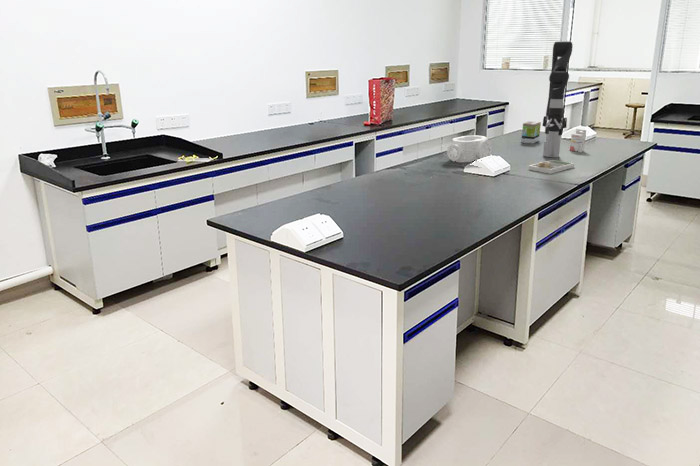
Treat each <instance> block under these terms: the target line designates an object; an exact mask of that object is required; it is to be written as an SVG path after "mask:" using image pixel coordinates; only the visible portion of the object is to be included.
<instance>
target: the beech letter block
mask: <svg viewBox="0 0 700 466" xmlns="http://www.w3.org/2000/svg"><path fill="white" fill-rule="evenodd" d="M537 164H538V167H542V168H547V169H550V164H551V163H550V162H546V161H544V160H543V161H538V163H537Z"/></svg>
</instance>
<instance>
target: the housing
mask: <svg viewBox="0 0 700 466" xmlns="http://www.w3.org/2000/svg"><path fill="white" fill-rule="evenodd" d="M451 140H452V141H451V144H450V145H449V146H448V147H447V150H446V154H447V157H448V158H449V159H450V160H451V161H452V162H455V161H456V163H462V162H463V163H473V162H472V161H474V160H477V159H480V158H483V157H486V156H490V157H491V155H492V150H493V147H492V145H493V144H492V142H491V140H489V139H488V138H487V137H486V136H484V135H478V134H477V135H476V134H474V135H462V136H458V137H454V138H452V139H451Z"/></svg>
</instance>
